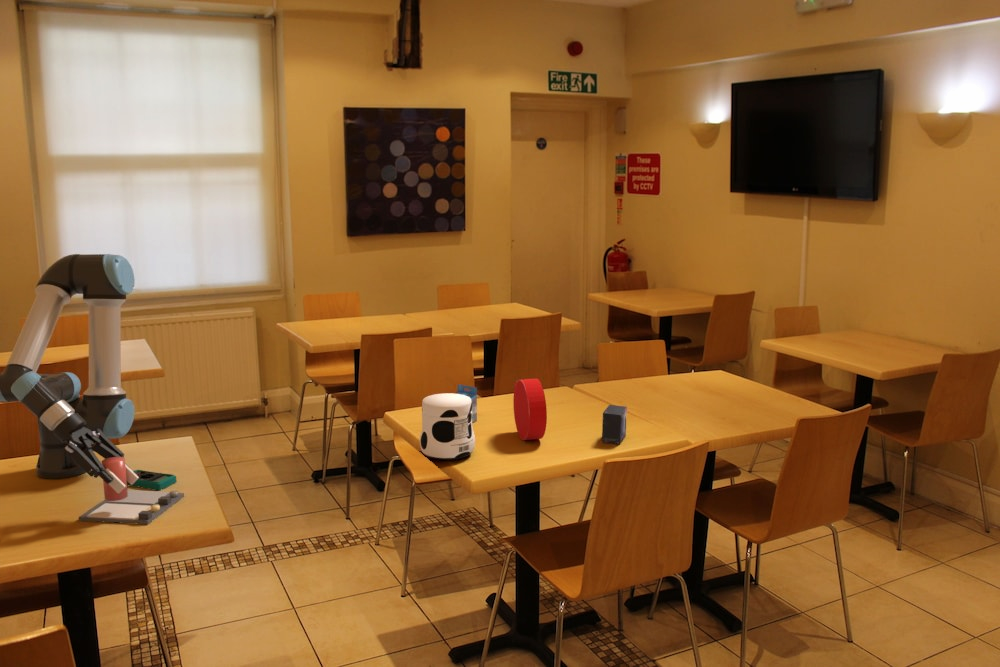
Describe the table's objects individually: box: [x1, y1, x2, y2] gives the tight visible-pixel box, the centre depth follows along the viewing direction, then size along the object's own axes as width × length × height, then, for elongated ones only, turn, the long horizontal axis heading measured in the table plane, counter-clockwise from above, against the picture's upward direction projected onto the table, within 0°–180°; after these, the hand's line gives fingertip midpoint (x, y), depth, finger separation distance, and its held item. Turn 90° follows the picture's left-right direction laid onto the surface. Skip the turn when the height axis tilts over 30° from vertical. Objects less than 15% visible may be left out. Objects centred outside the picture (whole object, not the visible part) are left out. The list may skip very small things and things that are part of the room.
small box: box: [601, 404, 628, 446], centre depth 287 cm, size 11×6×10 cm, turn 161°
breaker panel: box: [78, 489, 185, 525], centre depth 232 cm, size 19×19×3 cm
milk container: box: [419, 392, 476, 461], centre depth 272 cm, size 17×17×18 cm
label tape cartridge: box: [454, 384, 478, 424], centre depth 309 cm, size 9×4×12 cm, turn 55°
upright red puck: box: [512, 378, 548, 441], centre depth 288 cm, size 20×6×20 cm, turn 14°
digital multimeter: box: [127, 469, 178, 491], centre depth 250 cm, size 7×15×3 cm, turn 70°
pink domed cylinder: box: [101, 457, 128, 501], centre depth 225 cm, size 6×6×10 cm
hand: (128, 485), depth 225 cm, fingers closed on pink domed cylinder, 5 cm apart
